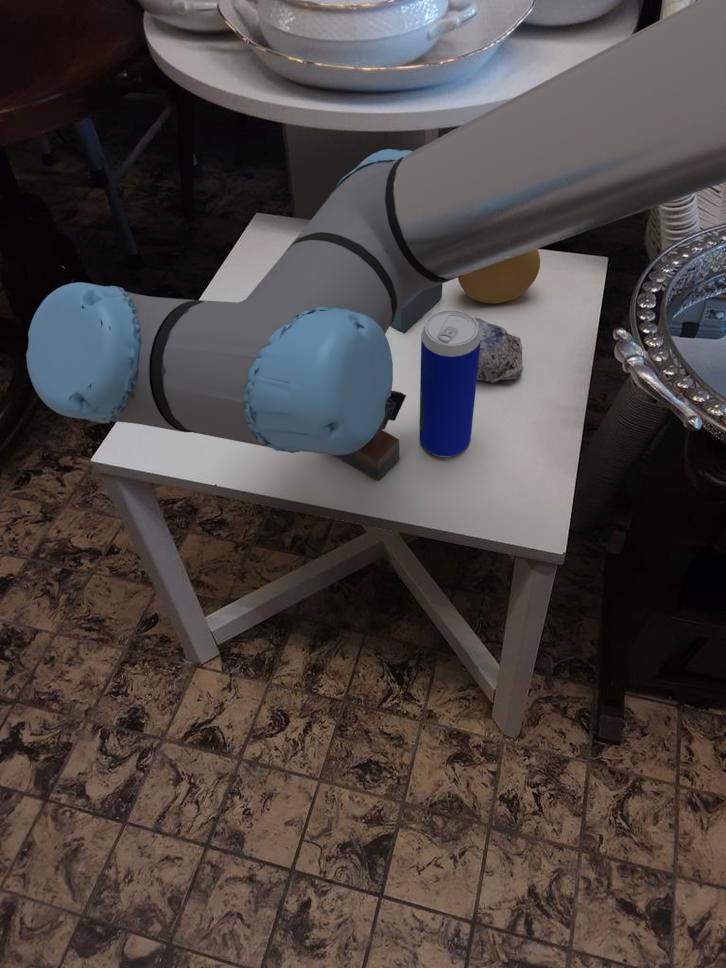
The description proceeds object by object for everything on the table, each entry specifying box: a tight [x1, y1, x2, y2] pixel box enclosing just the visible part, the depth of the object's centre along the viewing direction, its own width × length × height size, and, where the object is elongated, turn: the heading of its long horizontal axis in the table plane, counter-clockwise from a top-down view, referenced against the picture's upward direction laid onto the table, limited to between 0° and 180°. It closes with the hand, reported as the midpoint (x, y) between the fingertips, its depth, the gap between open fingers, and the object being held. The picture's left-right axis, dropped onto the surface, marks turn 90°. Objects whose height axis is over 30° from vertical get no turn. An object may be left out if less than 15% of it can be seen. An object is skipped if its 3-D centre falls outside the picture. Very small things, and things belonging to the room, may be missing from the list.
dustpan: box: [390, 283, 444, 334], centre depth 92 cm, size 10×16×4 cm, turn 52°
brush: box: [334, 430, 401, 482], centre depth 72 cm, size 7×4×14 cm, turn 52°
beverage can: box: [418, 309, 481, 458], centre depth 72 cm, size 5×5×15 cm
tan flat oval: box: [457, 248, 541, 304], centre depth 87 cm, size 9×4×10 cm, turn 94°
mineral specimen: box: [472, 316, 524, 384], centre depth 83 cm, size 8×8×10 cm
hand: (383, 399), depth 76 cm, fingers closed on brush, 3 cm apart
